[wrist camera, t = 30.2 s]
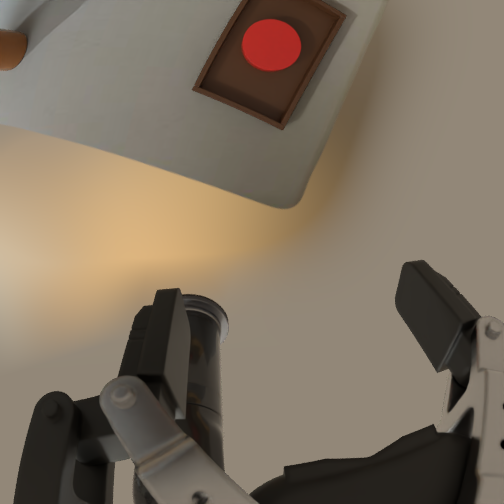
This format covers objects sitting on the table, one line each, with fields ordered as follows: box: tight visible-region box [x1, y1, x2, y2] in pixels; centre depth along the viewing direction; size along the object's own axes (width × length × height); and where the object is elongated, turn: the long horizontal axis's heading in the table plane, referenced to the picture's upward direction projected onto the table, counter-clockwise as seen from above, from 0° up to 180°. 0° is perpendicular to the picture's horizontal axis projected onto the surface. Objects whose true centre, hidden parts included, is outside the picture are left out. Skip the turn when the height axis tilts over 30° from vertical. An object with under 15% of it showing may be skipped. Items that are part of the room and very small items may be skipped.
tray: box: [192, 0, 346, 130], centre depth 28 cm, size 17×11×2 cm, turn 154°
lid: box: [242, 19, 301, 72], centre depth 27 cm, size 6×6×2 cm
